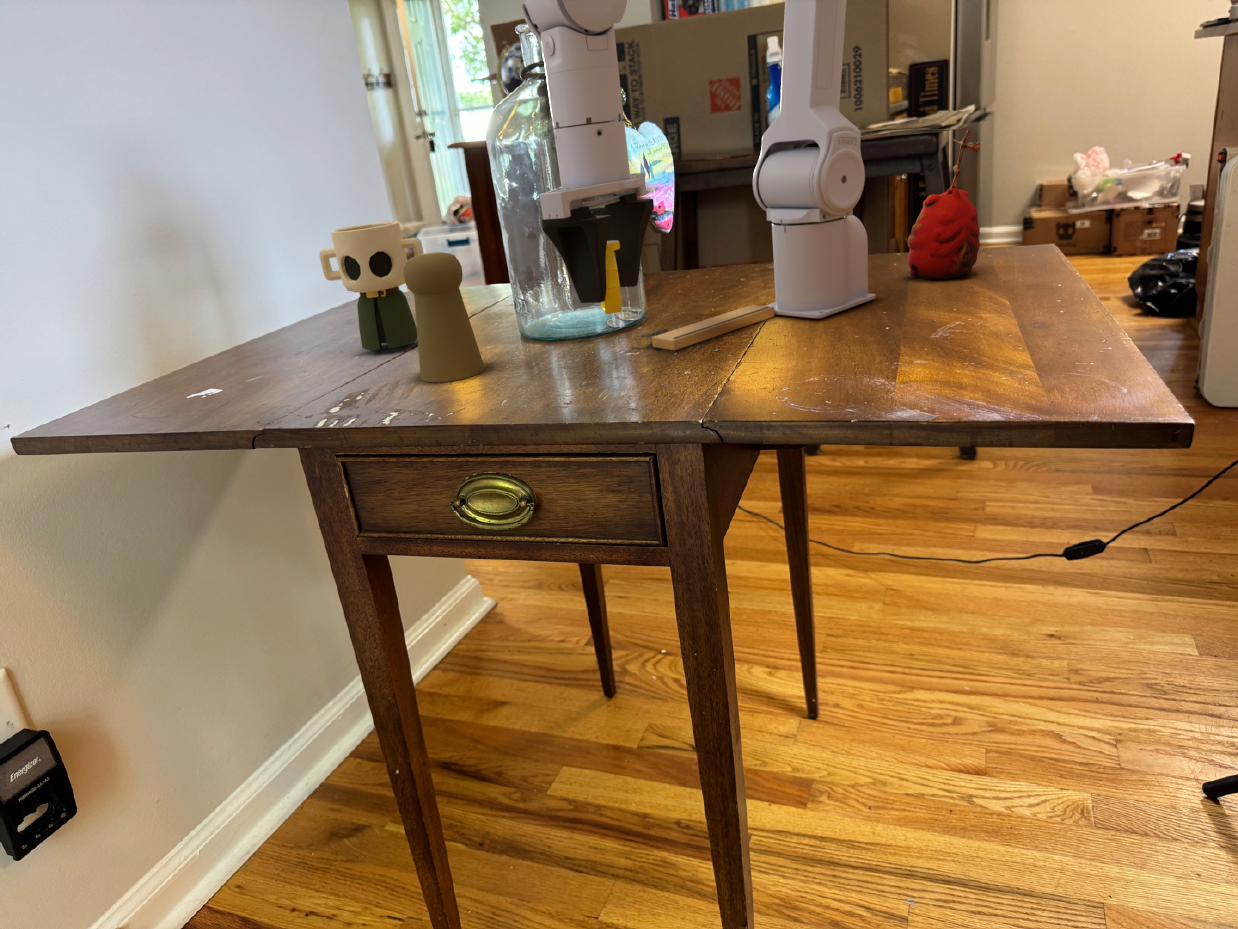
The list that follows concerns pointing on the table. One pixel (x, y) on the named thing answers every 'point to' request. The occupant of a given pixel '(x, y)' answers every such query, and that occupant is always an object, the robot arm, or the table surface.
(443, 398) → the table surface
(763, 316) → the ruler
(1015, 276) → the table surface
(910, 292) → the table surface
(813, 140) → the robot arm
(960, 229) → the red bumpy oval piece
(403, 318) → the character mug
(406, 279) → the cork
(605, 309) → the watch
